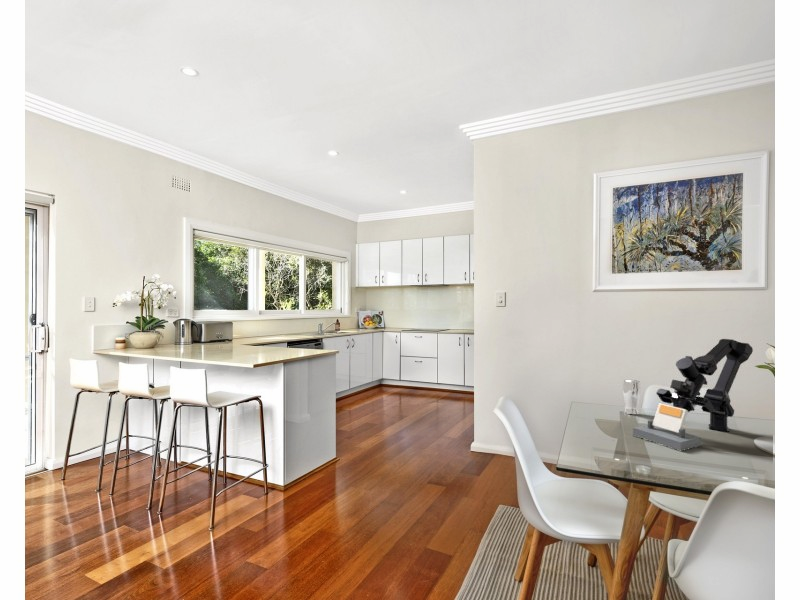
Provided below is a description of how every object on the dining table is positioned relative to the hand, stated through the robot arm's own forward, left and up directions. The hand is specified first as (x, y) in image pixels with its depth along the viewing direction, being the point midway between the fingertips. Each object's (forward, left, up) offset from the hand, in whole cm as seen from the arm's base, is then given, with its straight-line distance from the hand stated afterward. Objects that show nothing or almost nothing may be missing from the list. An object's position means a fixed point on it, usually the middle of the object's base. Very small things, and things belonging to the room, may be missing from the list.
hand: (674, 417), depth 163 cm
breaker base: (+4, -2, -8) cm, 10 cm away
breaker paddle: (+4, -2, -4) cm, 6 cm away
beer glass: (-30, -17, -8) cm, 36 cm away
